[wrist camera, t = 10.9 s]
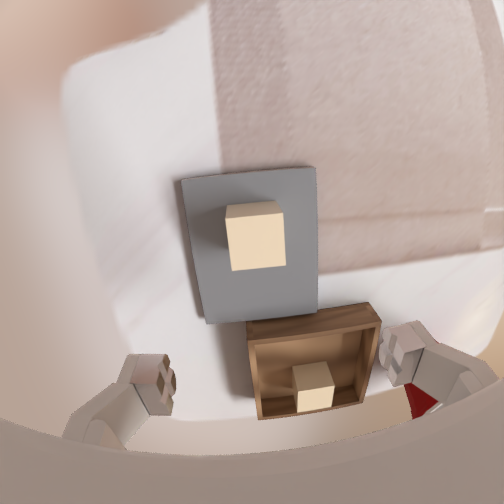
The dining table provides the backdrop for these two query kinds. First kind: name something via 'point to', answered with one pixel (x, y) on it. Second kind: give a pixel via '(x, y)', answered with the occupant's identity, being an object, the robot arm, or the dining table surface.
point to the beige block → (312, 386)
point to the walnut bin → (312, 355)
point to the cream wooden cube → (255, 235)
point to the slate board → (260, 279)
